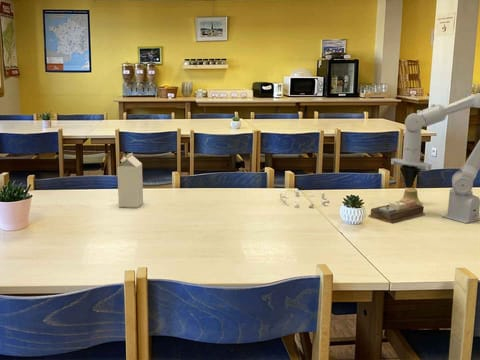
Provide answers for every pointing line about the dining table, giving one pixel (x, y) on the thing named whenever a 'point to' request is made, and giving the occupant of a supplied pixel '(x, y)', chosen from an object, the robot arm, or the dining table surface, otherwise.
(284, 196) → the game piece set
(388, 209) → the key three slate
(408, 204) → the key one terracotta
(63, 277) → the dining table surface
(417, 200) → the hand bell
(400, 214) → the wooden tray
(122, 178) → the milk carton
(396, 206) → the key two cream
